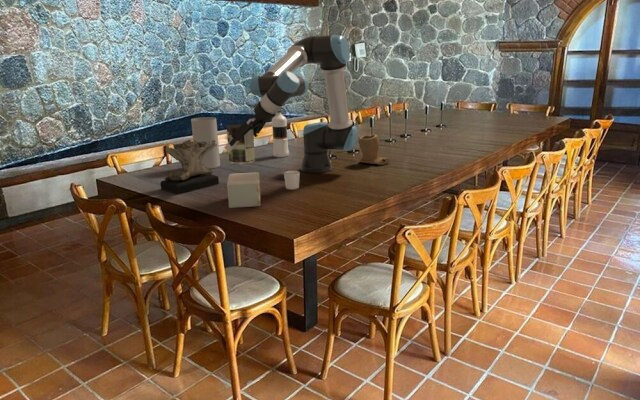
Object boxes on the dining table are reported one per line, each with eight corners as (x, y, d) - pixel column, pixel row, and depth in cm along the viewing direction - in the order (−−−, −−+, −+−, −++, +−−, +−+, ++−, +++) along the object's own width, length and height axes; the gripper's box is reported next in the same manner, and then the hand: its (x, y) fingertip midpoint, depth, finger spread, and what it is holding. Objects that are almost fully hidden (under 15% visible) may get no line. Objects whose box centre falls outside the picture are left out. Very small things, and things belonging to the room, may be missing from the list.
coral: (207, 178, 240) (203, 133, 234) (233, 185, 226) (229, 137, 220) (160, 189, 223) (154, 141, 217) (185, 197, 209) (179, 146, 203)
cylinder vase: (214, 169, 257) (210, 120, 249) (191, 169, 259) (186, 120, 252) (223, 164, 268) (219, 117, 261) (202, 163, 271) (197, 117, 264)
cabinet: (260, 195, 209) (259, 171, 206) (260, 207, 193) (259, 182, 190) (231, 197, 208) (229, 173, 205) (228, 209, 192) (226, 183, 189)
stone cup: (353, 164, 261) (353, 135, 256) (367, 160, 269) (367, 132, 265) (378, 167, 251) (378, 138, 247) (391, 163, 260) (391, 134, 256)
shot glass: (300, 185, 223) (299, 169, 221) (300, 189, 216) (299, 173, 214) (284, 185, 223) (284, 170, 221) (284, 190, 216) (283, 174, 214)
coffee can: (233, 165, 190) (230, 128, 186) (226, 160, 199) (223, 125, 195) (259, 162, 194) (256, 125, 190) (251, 157, 203) (248, 122, 199)
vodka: (269, 156, 286) (266, 102, 277) (283, 153, 291) (280, 101, 283) (279, 158, 279) (276, 103, 270) (292, 156, 284) (290, 102, 276)
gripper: (259, 118, 175) (224, 160, 186) (288, 111, 195) (255, 149, 206) (245, 103, 176) (211, 145, 186) (275, 97, 196) (243, 135, 206)
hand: (234, 147), depth 196 cm, fingers closed on coffee can, 10 cm apart
